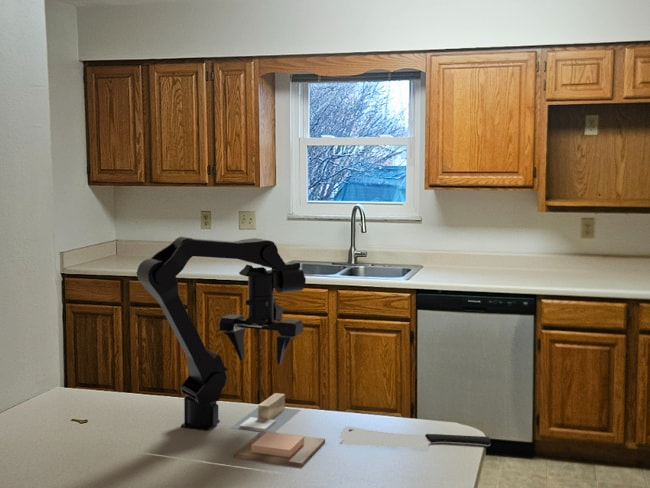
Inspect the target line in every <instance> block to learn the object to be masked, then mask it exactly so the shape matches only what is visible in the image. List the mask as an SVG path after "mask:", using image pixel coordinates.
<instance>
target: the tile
mask: <svg viewBox="0 0 650 488" xmlns="http://www.w3.org/2000/svg"><path fill="white" fill-rule="evenodd" d="M281 433H282V432H276V433H273V432H266V433H265V434H264V435H263V436H262V437H260V438H259V439H258V440H257V441H256V442H254V443H253V444H252V445H251V452H253V453H259V454H266V455H273V456H280V457H287V458H290V457H291V456H292V455H293V454H294V453H295V452H296V451H297V450H298V449H299V448H300V447H301V446H302V445H303V444H304V436H305V435H300V436H296V435H297V434H292V435H288V434H289V433H284V434H281Z"/></svg>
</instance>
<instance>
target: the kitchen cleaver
mask: <svg viewBox="0 0 650 488" xmlns="http://www.w3.org/2000/svg"><path fill="white" fill-rule="evenodd" d="M338 439H340V440H341V439H343V440H341V442H339V445H347V446H366V447H368V446H369V447H381V448H382V447H385V448H400V449H401V448H404V449H419V450H429V446H430V445H435V444H436V445H437V444H440V445H442V444H443V445H444V444H446V445H459V444H469V445H468V446H475V445H481V446H480V447H484V448H485V447H486V448H488V447H490V446H491V443H492V441H491V438H490V437H489V436H479V435H461V434H460V435H458V434H443V433H442V434H440V433H438V434H437V433H426V434H411V433H410V434H409V433H399V432H397V433H395V432H387V431H386V432H385V431H378V430H372V429H371V430H370V429H365V428H361V427H355V426H344V427H343V428H342V430H341V432H340V435H339V437H338Z"/></svg>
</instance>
